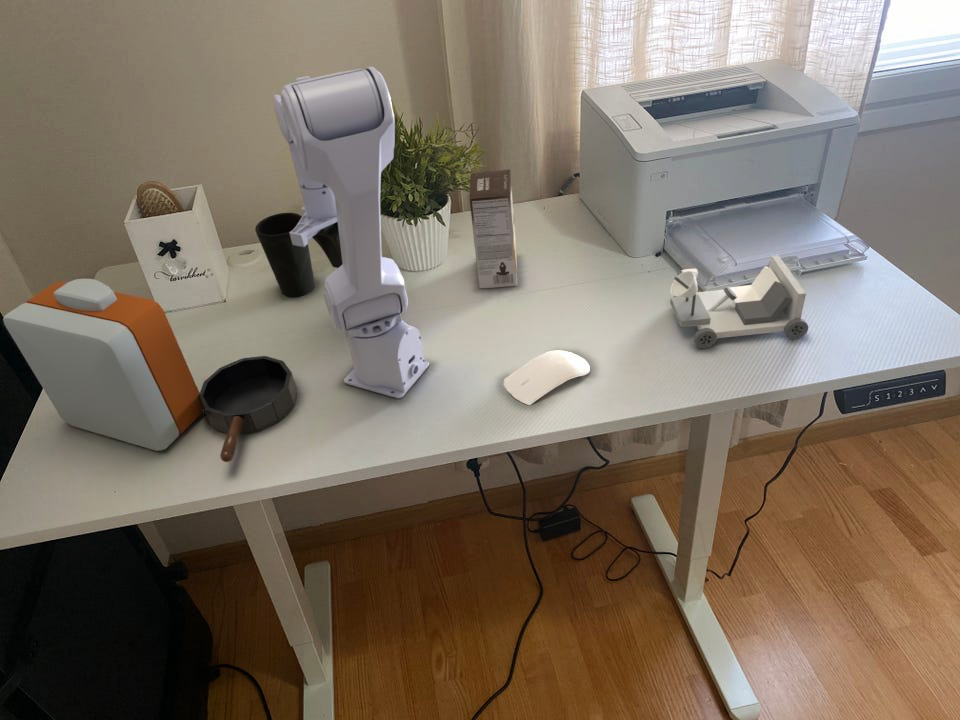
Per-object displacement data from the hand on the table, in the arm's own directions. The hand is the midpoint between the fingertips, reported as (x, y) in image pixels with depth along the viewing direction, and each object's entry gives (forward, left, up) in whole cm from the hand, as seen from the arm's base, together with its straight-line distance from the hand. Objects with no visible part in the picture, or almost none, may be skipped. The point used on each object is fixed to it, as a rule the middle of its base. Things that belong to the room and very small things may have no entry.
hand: (340, 265), depth 109 cm
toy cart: (-53, -18, -10) cm, 57 cm away
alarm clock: (+15, +31, -10) cm, 35 cm away
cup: (+14, -4, -10) cm, 17 cm away
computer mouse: (-34, +3, -10) cm, 35 cm away
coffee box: (-16, -19, -10) cm, 27 cm away
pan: (0, +25, -9) cm, 27 cm away
